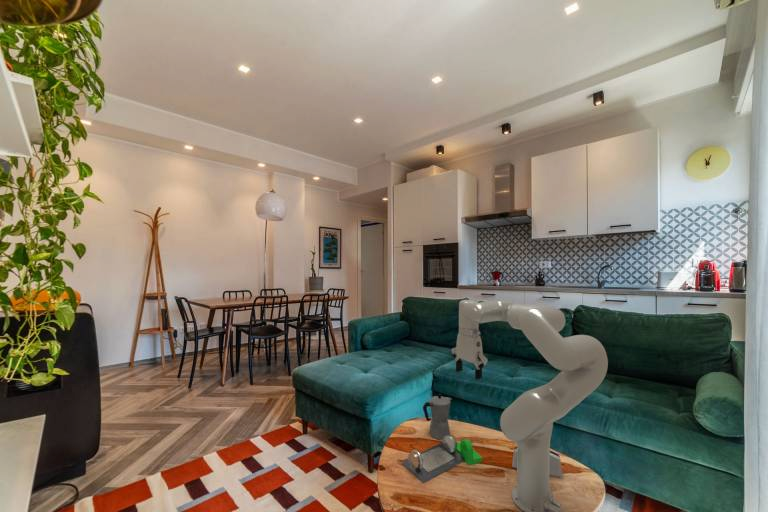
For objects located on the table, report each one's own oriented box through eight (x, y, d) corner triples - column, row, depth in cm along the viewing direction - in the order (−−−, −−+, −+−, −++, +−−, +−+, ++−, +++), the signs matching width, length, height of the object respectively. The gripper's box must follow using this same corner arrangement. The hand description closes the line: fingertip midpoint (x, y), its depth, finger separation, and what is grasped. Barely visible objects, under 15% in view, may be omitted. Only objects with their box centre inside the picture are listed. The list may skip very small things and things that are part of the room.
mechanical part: (482, 462, 125) (482, 442, 125) (468, 466, 123) (468, 445, 123) (464, 445, 136) (464, 426, 136) (452, 448, 134) (452, 429, 134)
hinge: (560, 472, 119) (561, 446, 118) (563, 482, 115) (563, 456, 114) (511, 462, 125) (512, 437, 124) (512, 471, 121) (512, 446, 119)
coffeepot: (444, 425, 151) (444, 387, 151) (458, 435, 143) (458, 394, 143) (417, 434, 144) (417, 393, 144) (429, 445, 136) (429, 402, 136)
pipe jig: (442, 445, 135) (442, 428, 135) (464, 461, 125) (464, 441, 125) (402, 464, 123) (402, 444, 123) (423, 482, 113) (423, 461, 113)
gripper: (493, 334, 123) (493, 379, 123) (458, 326, 137) (458, 366, 137) (480, 337, 119) (480, 384, 119) (445, 328, 133) (445, 370, 133)
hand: (468, 374), depth 128 cm, fingers open, 9 cm apart
